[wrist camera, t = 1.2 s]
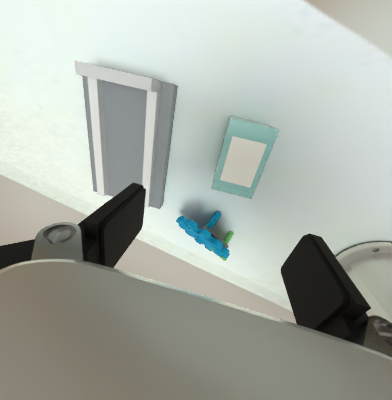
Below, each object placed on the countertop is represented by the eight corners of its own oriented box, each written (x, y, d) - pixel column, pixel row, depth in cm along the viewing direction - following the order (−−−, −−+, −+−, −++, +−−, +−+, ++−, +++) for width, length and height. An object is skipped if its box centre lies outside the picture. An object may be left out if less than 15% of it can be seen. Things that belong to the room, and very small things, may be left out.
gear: (165, 218, 30) (191, 229, 22) (186, 193, 32) (218, 193, 23) (205, 253, 35) (241, 274, 26) (221, 229, 36) (260, 241, 28)
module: (267, 125, 23) (280, 130, 17) (247, 180, 27) (251, 200, 21) (230, 116, 23) (230, 119, 18) (215, 172, 27) (211, 189, 21)
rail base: (177, 86, 22) (166, 81, 19) (162, 204, 31) (153, 218, 27) (89, 66, 23) (60, 57, 19) (99, 187, 32) (80, 198, 28)
